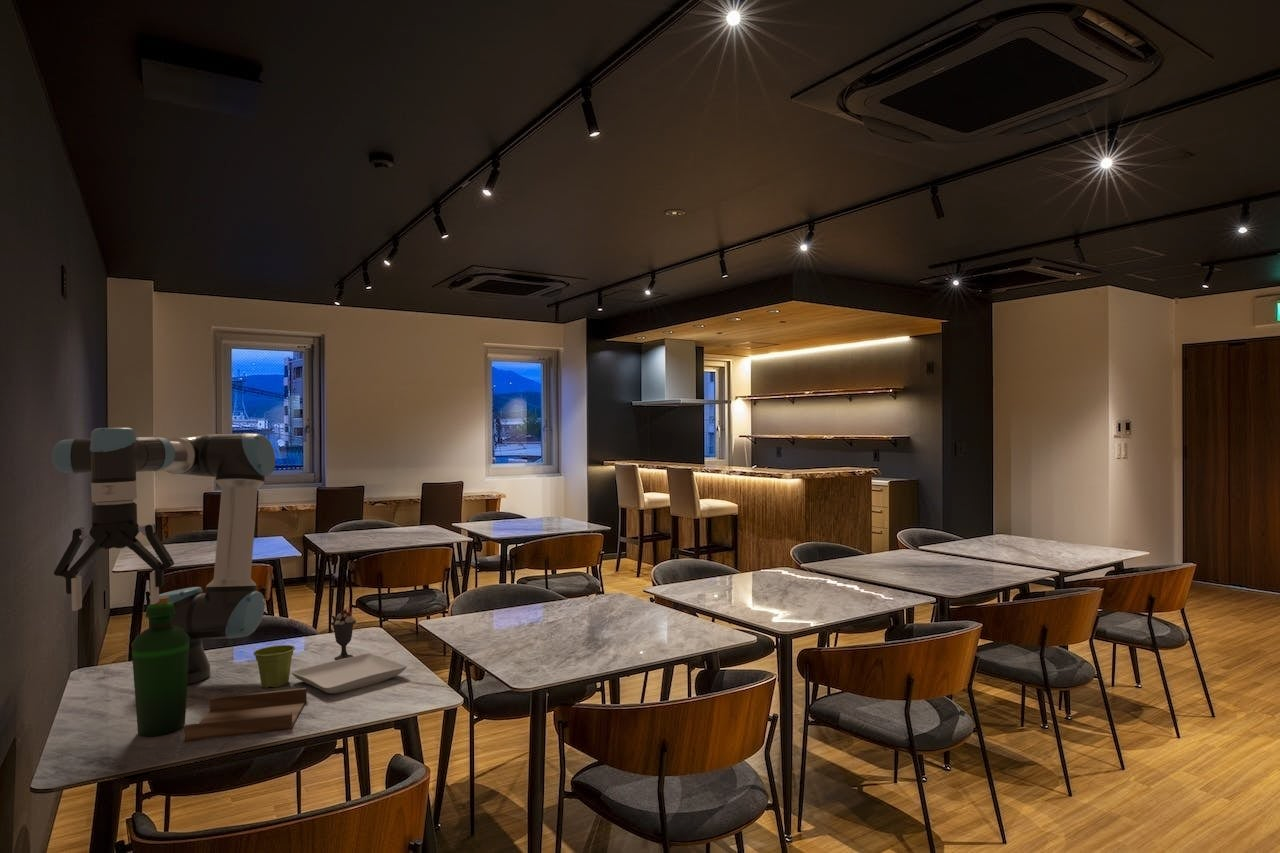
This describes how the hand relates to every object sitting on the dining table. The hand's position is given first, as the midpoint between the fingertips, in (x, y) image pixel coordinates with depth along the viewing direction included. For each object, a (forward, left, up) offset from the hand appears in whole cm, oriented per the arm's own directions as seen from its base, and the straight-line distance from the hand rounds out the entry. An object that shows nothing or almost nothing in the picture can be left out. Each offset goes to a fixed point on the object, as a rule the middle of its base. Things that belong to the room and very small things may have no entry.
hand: (116, 606), depth 149 cm
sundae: (-49, +37, -28) cm, 68 cm away
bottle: (-5, +6, -28) cm, 29 cm away
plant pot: (-30, +23, -28) cm, 47 cm away
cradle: (-5, +23, -28) cm, 37 cm away
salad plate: (-27, +41, -28) cm, 57 cm away
